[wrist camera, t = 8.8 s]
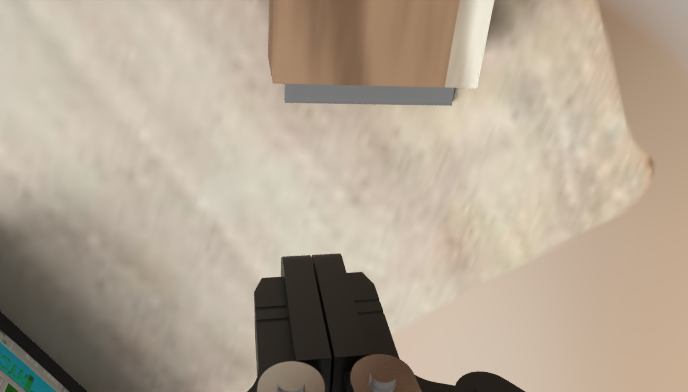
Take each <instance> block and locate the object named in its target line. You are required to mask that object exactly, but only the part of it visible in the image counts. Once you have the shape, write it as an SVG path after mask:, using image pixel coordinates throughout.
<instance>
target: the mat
mask: <svg viewBox="0 0 688 392" xmlns="http://www.w3.org/2000/svg"><path fill="white" fill-rule="evenodd" d="M454 89H455V88H448V87H404V86H361V85H317V84H285V103H334V104H392V105H451V106H452V100H453V95H454Z"/></svg>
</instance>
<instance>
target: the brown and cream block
mask: <svg viewBox="0 0 688 392" xmlns="http://www.w3.org/2000/svg"><path fill="white" fill-rule="evenodd" d="M493 5H494V0H269V44H268V58H269V64H270V69H271V75H272V81H273V83H274V84H317V85H361V86H404V87H448V88H477V85H478V80H479V75H480V70H481V65H482V60H483V55H484V50H485V45H486V40H487V35H488V30H489V25H490V20H491V15H492V10H493Z"/></svg>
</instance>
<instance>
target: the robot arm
mask: <svg viewBox="0 0 688 392" xmlns="http://www.w3.org/2000/svg"><path fill="white" fill-rule="evenodd" d="M254 303H255V342H256V360H257V379H256V382H255V383H254V385H253V386H252V387H251V389H250V390H249V391H248V392H525V391H523V390H522V389H520V388H518V387H517V386H515V385H514V384H512V383H510V382H509V381H507V380H505V379H504V378H502V377H500V376H498V375H495V374H492V373H488V372H471V373H468V374H466V375H464V376H462V377H461V378H460V379H459V380H458V381H457V383H456V385H455V386H453V385H447V384H441V383H436V382H431V381H427V380H425V379H422V378H420V377H417V376H416V375H414V373H413V371H412V370H411V368H410V367H409V366H408V365H407V364H406V363H405V362H403V361H402V360H400V359H399V356H398V353H397V351H396V348H395V345H394V342H393V339H392V336H391V333H390V330H389V327H388V324H387V321H386V318H385V315H384V314H383V309H382V306H381V303H380V302H379V297H378V294H377V291H376V288H375V285H374V284H373V283H372V282H371V281H370V280H369V279H368V278H367V277H366V276H365V275H364V274H363V273H362V272H356V273H346V270H345V266H344V263H343V259H342V256H341V254H324V255H312V257H311V256H310V255H307V256H287V257H282V258H281V277H271V278H262V279H261V281H260V283H259V284H258V286H257V288H256V290H255V292H254Z"/></svg>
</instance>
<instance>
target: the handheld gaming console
mask: <svg viewBox="0 0 688 392" xmlns="http://www.w3.org/2000/svg"><path fill="white" fill-rule="evenodd" d="M0 392H87V391H86V390H85V389H84V388H83V387H82V386H80V385H79V384H78V383H77V382H76V381H75V380H74V379H73V378H72V377H71V376H70V375H69V374H67V373H66V372H65V371H64V370H63V369H62V368H61V367H60V366H59V365H58V364H57V363H56V362H54V361H53V360H52V359H51V358H50V357H49V356H48V355H47V354H46V353H45V352H44V351H43V350H41V349H40V348H39V347H38V346H37V345H36V344H35V343H34V342H33V341H32V340H31V339H30V338H28V337H27V336H26V335H25V334H24V333H23V332H22V331H21V330H20V329H19V328H18V327H17V326H15V325H14V324H13V323H12V322H11V321H10V320H9V319H8V318H7V317H6V316H5V315H4V314H2V313H1V312H0Z"/></svg>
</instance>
